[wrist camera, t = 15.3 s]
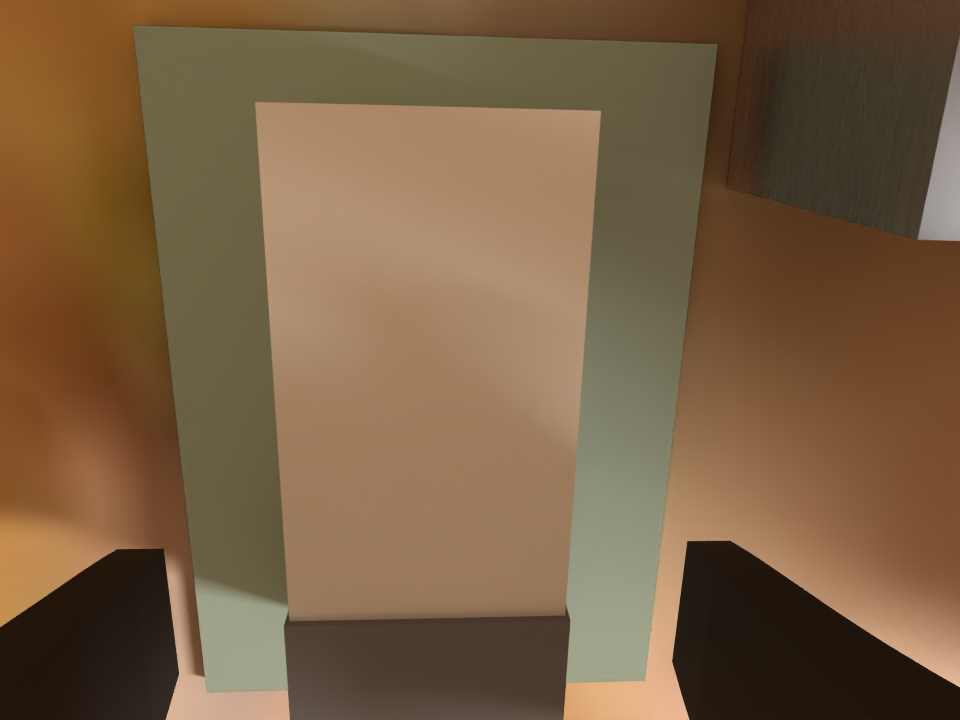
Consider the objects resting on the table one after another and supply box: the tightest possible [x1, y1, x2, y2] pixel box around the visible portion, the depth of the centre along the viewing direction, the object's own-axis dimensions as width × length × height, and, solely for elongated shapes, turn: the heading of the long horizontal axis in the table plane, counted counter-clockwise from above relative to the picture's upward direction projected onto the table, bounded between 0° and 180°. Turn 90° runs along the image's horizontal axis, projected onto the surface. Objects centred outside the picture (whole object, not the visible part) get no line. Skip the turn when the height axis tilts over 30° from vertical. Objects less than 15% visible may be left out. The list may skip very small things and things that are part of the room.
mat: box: [133, 25, 718, 693], centre depth 12 cm, size 8×11×1 cm
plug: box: [255, 102, 601, 720], centre depth 10 cm, size 4×8×4 cm, turn 178°
